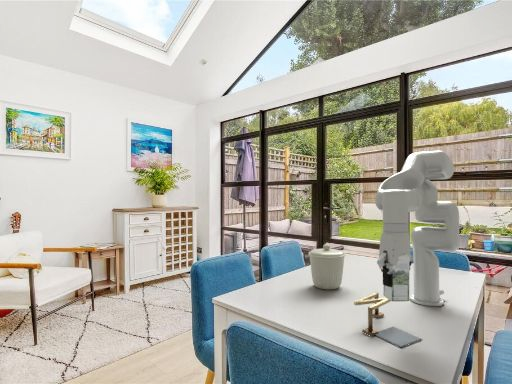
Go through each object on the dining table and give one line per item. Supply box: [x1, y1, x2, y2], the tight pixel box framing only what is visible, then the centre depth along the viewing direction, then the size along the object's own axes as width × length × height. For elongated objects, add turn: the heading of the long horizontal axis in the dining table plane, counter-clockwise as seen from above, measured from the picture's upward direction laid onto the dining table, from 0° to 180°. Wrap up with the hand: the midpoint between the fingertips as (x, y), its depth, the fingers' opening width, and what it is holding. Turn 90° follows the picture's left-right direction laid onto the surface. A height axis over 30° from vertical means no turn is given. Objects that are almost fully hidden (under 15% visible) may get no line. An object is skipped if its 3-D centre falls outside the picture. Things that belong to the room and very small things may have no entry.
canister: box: [307, 243, 347, 291], centre depth 152 cm, size 18×18×21 cm
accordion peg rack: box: [353, 291, 392, 337], centre depth 108 cm, size 18×13×8 cm
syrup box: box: [383, 254, 410, 302], centre depth 98 cm, size 6×6×14 cm
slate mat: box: [375, 326, 422, 348], centre depth 97 cm, size 10×10×1 cm
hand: (396, 283), depth 97 cm, fingers closed on syrup box, 7 cm apart
